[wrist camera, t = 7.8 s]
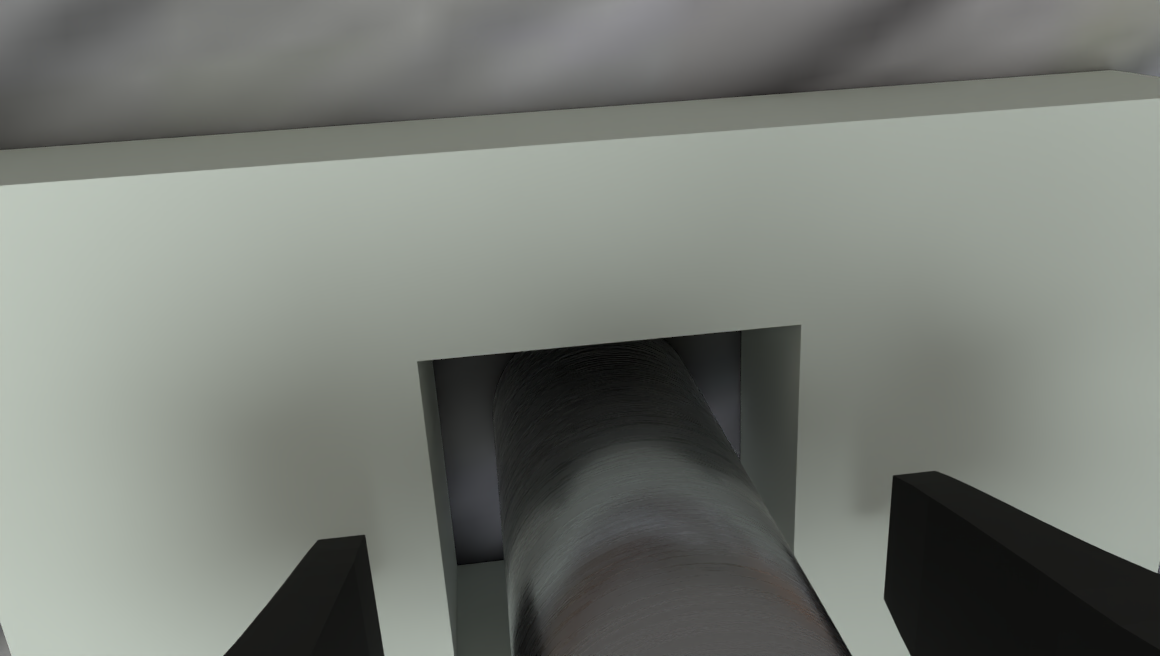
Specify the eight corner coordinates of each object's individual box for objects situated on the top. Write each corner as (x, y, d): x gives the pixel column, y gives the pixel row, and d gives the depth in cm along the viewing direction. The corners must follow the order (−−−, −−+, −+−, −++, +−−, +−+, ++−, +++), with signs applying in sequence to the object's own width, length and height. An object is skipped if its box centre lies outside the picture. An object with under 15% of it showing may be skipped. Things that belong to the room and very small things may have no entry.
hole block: (1112, 69, 16) (1253, 90, 13) (1033, 613, 20) (1128, 718, 17) (-23, 152, 14) (-142, 197, 11) (140, 727, 18) (82, 866, 15)
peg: (701, 315, 16) (1020, 766, 7) (684, 496, 18) (937, 1080, 8) (493, 316, 16) (543, 798, 7) (491, 501, 17) (531, 1126, 8)
